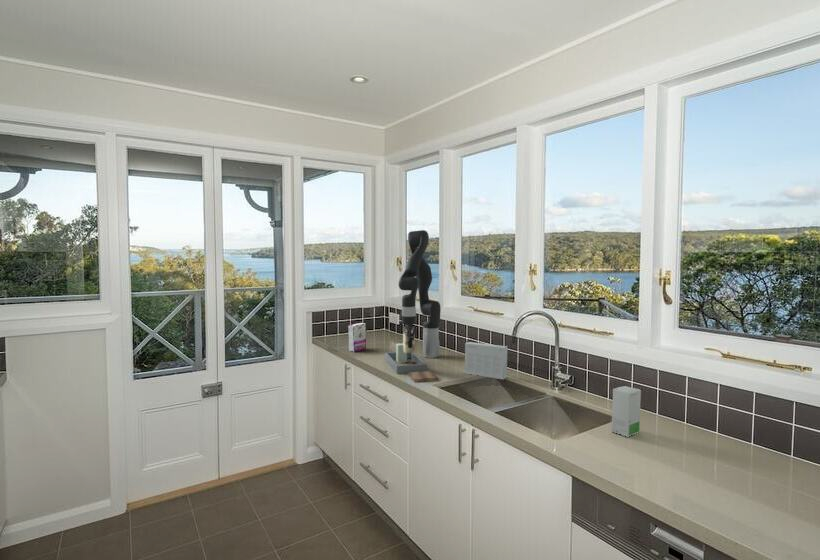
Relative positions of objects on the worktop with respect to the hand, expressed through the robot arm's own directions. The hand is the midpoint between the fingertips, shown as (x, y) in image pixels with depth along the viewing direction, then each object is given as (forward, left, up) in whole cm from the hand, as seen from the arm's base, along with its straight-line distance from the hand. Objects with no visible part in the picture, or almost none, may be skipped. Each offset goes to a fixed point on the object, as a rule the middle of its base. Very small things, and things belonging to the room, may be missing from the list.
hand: (408, 346), depth 242 cm
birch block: (0, 0, -3) cm, 3 cm away
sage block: (0, -15, -12) cm, 19 cm away
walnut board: (-3, +18, -12) cm, 22 cm away
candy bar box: (+20, -49, -12) cm, 54 cm away
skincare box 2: (-53, +98, -12) cm, 113 cm away
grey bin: (0, -7, -12) cm, 14 cm away
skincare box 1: (-35, +21, -12) cm, 42 cm away
